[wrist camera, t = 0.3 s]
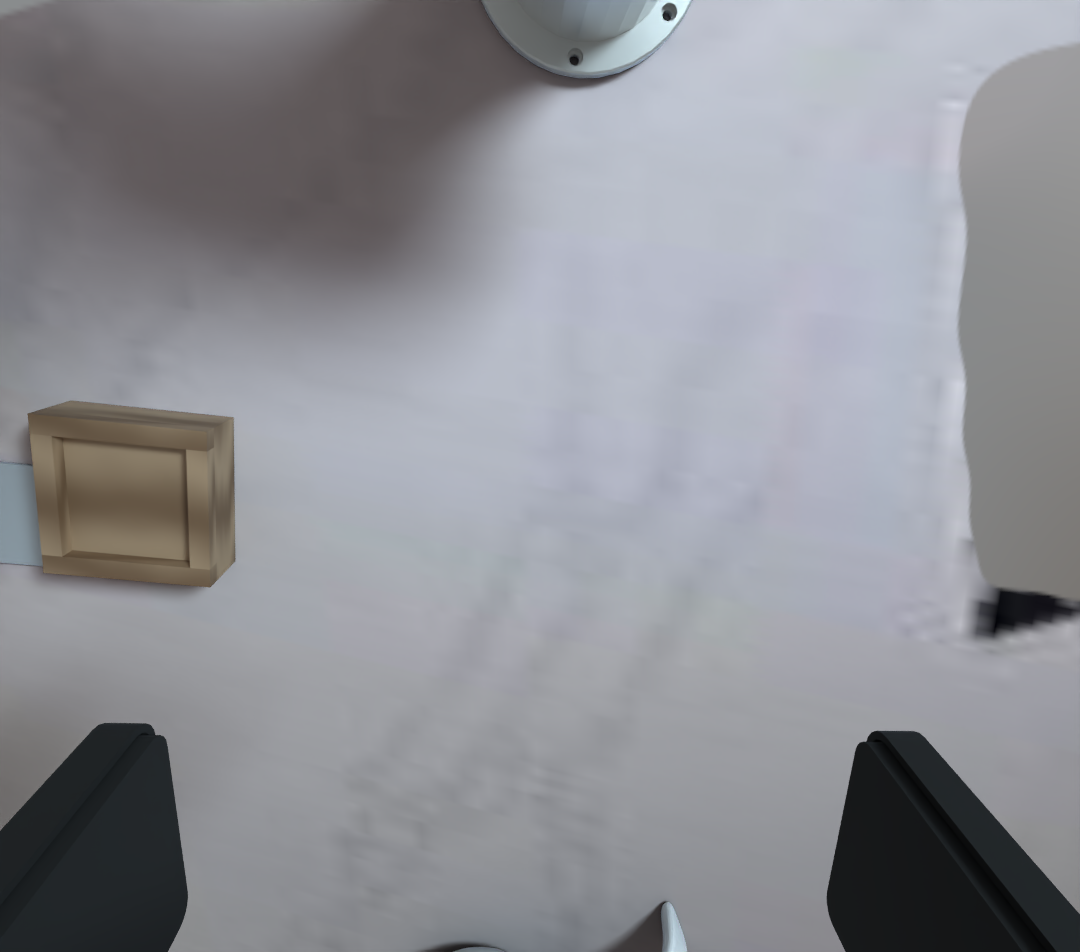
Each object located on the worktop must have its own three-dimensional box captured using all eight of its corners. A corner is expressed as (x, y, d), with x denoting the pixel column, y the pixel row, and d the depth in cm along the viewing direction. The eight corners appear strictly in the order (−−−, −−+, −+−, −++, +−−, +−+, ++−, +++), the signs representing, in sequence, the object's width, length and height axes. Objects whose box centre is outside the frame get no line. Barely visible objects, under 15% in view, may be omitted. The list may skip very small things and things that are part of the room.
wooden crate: (70, 400, 43) (27, 413, 39) (233, 417, 44) (206, 431, 40) (82, 547, 46) (43, 572, 42) (235, 561, 47) (210, 587, 43)
